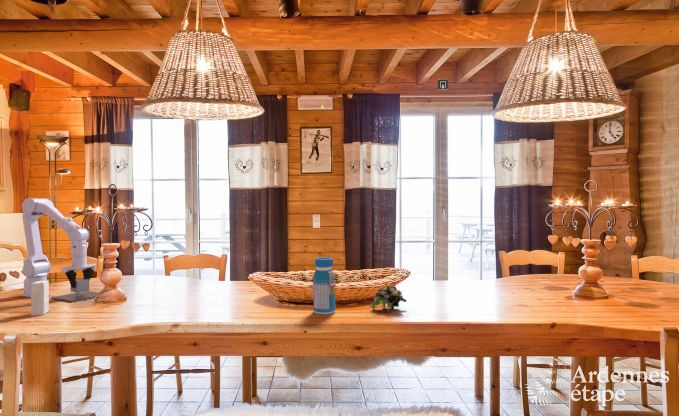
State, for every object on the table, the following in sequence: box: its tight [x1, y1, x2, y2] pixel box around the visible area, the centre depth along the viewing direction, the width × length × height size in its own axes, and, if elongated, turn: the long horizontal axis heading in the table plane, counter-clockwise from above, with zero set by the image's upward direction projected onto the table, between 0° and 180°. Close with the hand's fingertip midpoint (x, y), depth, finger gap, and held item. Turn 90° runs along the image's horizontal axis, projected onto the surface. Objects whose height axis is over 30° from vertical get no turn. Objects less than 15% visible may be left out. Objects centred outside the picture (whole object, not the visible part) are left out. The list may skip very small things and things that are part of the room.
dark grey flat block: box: [50, 290, 100, 303], centre depth 201 cm, size 16×16×4 cm
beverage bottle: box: [312, 256, 336, 315], centre depth 168 cm, size 8×8×20 cm
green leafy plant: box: [370, 284, 407, 314], centre depth 170 cm, size 11×11×12 cm
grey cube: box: [70, 277, 90, 293], centre depth 200 cm, size 5×5×5 cm
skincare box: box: [30, 279, 50, 317], centre depth 170 cm, size 6×4×12 cm
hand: (79, 286), depth 201 cm, fingers closed on grey cube, 5 cm apart
